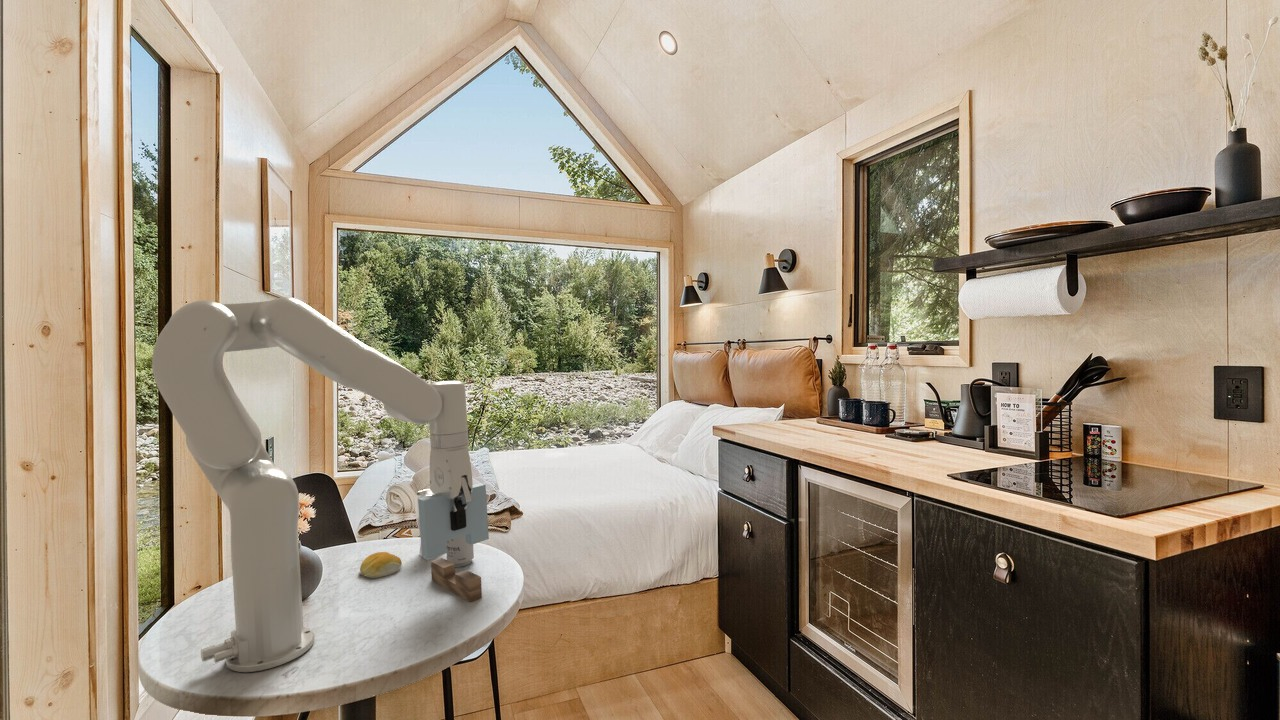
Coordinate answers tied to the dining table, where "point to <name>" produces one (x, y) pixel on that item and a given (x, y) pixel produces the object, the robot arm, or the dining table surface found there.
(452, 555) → the energy drink can
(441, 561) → the brown wooden bar
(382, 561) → the bread roll
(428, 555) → the blue board
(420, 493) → the shiny metal tumbler
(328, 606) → the dining table surface
